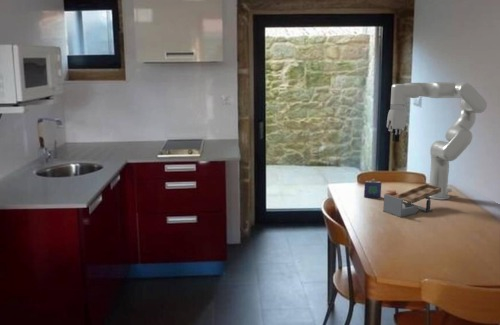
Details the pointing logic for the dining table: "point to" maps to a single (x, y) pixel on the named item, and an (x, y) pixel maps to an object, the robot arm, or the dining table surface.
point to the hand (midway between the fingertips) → (395, 141)
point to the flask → (372, 189)
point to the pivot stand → (423, 207)
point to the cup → (398, 206)
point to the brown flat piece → (416, 193)
